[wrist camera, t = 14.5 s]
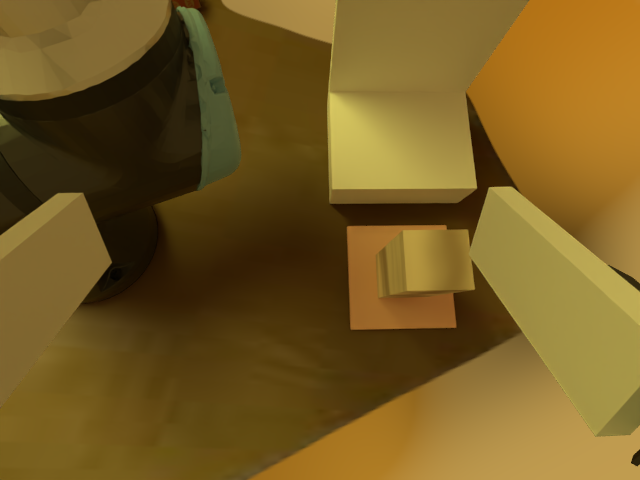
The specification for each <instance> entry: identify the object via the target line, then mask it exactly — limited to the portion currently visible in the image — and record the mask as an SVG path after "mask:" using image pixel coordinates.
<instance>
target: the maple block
mask: <svg viewBox="0 0 640 480" xmlns="http://www.w3.org/2000/svg"><path fill="white" fill-rule="evenodd" d="M469 251H470V243H469V235H468V230H402V231H401V232H400V233H399V234H398V235H397V236H396V237H395V238H394V239H393V240H391V241H390V242H389V243H388V244H387V245H386V246H385V247H384V248H383V249H382V250H380V251H379V252H378V253H377V254H376V272H377V291H378V298H411V297H430V296H437V295H444V294H450V293H457V292H463V291H470V290H475V287H474V278H473V270H472V261H471V257H470V256H469Z"/></svg>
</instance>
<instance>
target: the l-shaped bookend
mask: <svg viewBox="0 0 640 480" xmlns="http://www.w3.org/2000/svg"><path fill="white" fill-rule="evenodd" d="M528 1H529V0H336V5H335V17H334V30H333V41H332V53H331V66H330V78H329V90H328V102H327V119H328V160H329V201H330V204H384V203H458V202H460V201H461V200H462V199H464V198H465V197H466V196H468V195H469V194H470V193H472V192H473V191H474V190H476V189H477V183H476V175H475V167H474V159H473V151H472V143H471V135H470V127H469V118H468V110H467V102H466V94H465V92H466V90H467V89H468V88H469V86H470V85H471V83H472V82H473V80H474V79H475V77H476V76H477V75H478V73H479V72H480V70H481V69H482V67H483V66H484V64H485V63H486V62H487V60H488V59H489V57H490V56H491V55H492V53H493V51H494V50H495V49H496V47H497V46H498V44H499V43H500V41H501V40H502V39H503V37H504V36H505V34H506V33H507V32H508V30H509V29H510V27H511V26H512V24H513V23H514V21H515V20H516V19H517V17H518V16H519V14H520V13H521V11H522V10H523V9H524V7H525V6H526V4H527V3H528Z"/></svg>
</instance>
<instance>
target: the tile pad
mask: <svg viewBox="0 0 640 480" xmlns="http://www.w3.org/2000/svg"><path fill="white" fill-rule="evenodd" d="M402 230H447V228H446V225H410V226H347V253H348V281H349V310H350V330H364V329H416V328H456V318H455V308H454V298H453V293H450V294H444V295H437V296H430V297H411V298H378V291H377V272H376V254H377V253H378V252H379V251H380V250H382V249H383V248H384V247H385V246H386V245H387V244H388V243H389V242H390V241H391V240H393V239H394V238H395V237H396V236H397V235H398V234H399V233H400V232H401V231H402Z"/></svg>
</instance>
